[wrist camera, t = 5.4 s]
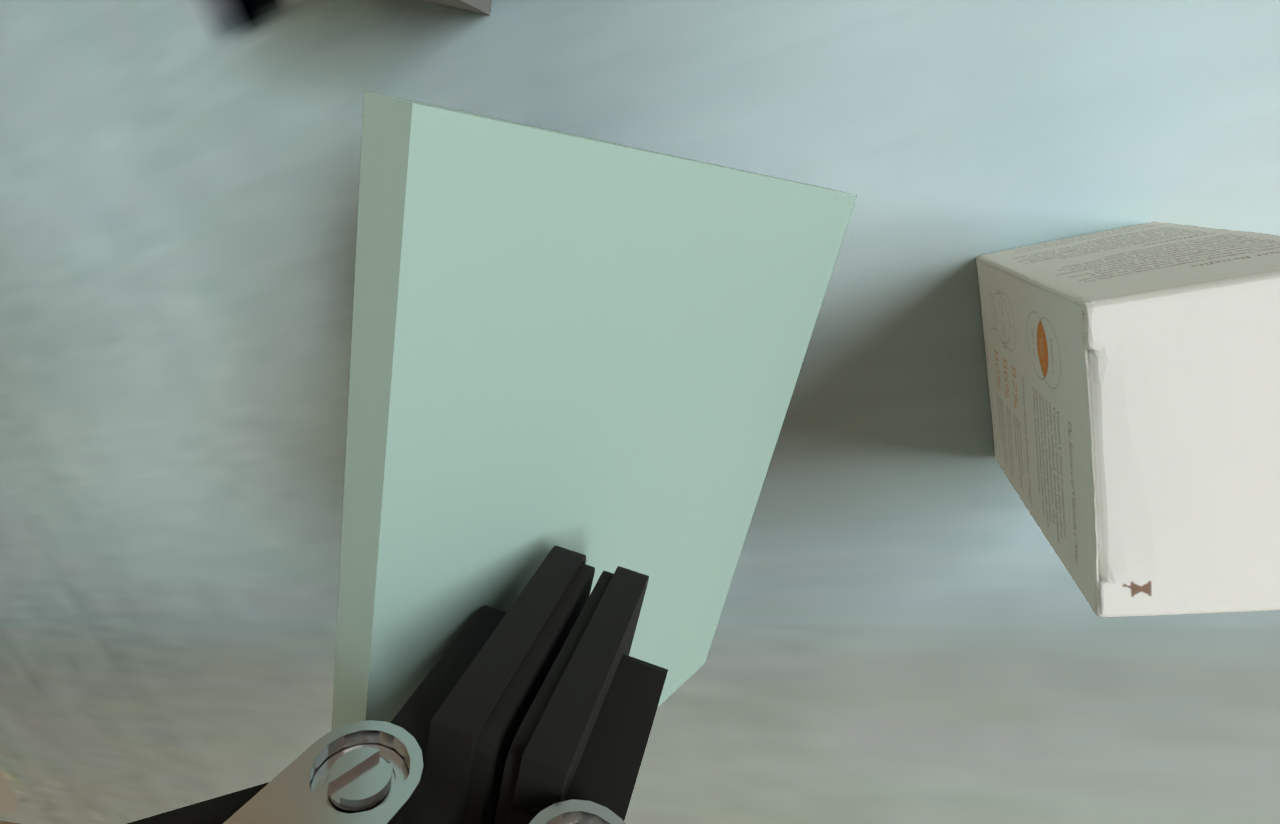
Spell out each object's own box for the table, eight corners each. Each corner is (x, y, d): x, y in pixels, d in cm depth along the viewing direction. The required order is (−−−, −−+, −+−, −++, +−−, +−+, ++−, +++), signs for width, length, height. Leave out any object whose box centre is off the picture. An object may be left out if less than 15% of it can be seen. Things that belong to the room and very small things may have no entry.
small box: (1160, 440, 24) (1394, 617, 14) (990, 459, 26) (1097, 629, 16) (1157, 215, 22) (1431, 245, 12) (971, 251, 23) (1083, 303, 14)
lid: (363, 90, 7) (413, 103, 6) (827, 188, 16) (856, 195, 16) (319, 964, 12) (343, 1000, 12) (684, 649, 22) (704, 663, 21)
